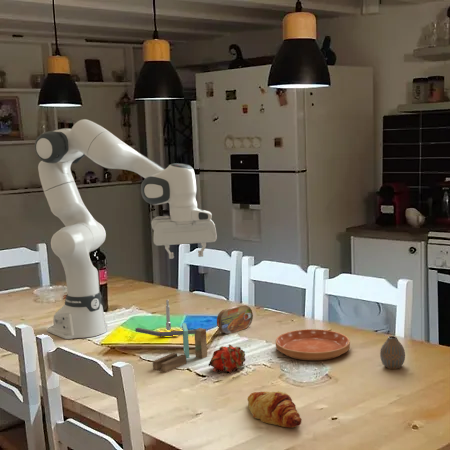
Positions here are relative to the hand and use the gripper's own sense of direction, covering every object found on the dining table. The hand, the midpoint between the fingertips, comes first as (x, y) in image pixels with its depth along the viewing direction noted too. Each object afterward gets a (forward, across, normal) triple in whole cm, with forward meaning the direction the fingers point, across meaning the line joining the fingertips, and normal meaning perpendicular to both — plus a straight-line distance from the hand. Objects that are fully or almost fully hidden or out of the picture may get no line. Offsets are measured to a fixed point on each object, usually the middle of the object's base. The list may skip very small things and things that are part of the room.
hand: (186, 257), depth 222 cm
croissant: (+30, +16, -61) cm, 69 cm away
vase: (+29, +55, -35) cm, 72 cm away
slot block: (+29, -8, -22) cm, 37 cm away
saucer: (+30, +37, -16) cm, 50 cm away
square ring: (+27, -2, -16) cm, 31 cm away
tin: (+29, +16, +12) cm, 36 cm away
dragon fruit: (+29, +8, -28) cm, 42 cm away
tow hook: (+29, -6, +14) cm, 33 cm away
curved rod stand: (+29, -6, -12) cm, 32 cm away
